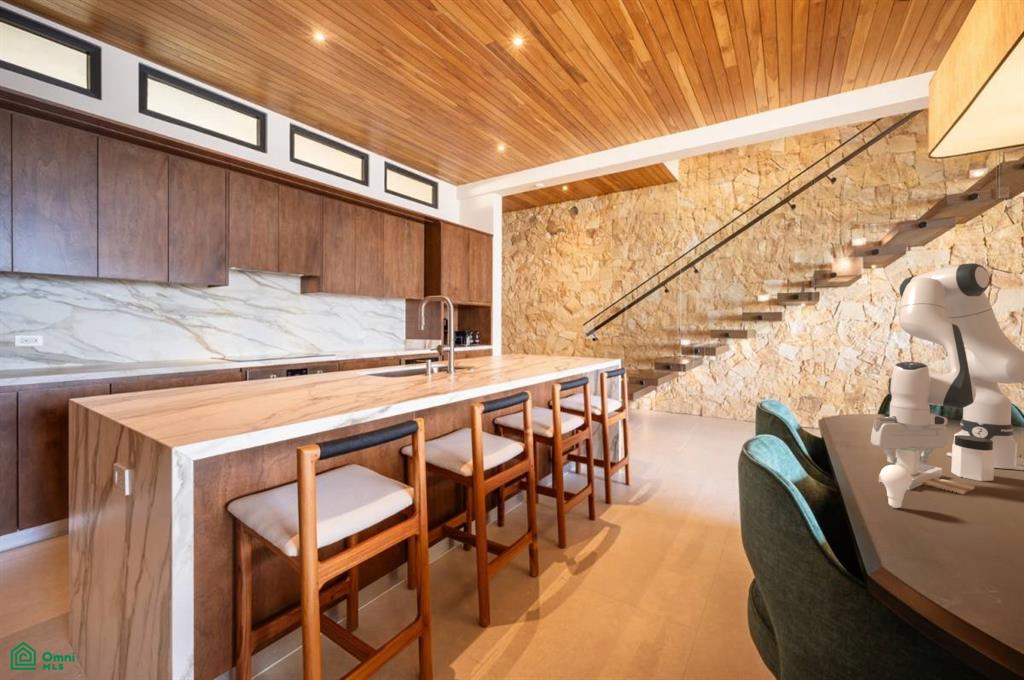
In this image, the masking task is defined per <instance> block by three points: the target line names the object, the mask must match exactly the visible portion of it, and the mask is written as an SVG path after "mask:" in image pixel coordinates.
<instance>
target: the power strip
mask: <svg viewBox="0 0 1024 680" xmlns="http://www.w3.org/2000/svg"><path fill="white" fill-rule="evenodd" d="M911 476H912V484H911V485H910V487H909V488H908V489H907V490H906V491H910V490H913V489H915V488H917V487H920V486H922V485H923V482H925V481H927V480H930V479H932V478H935V477H936V478H942V477H943V468H942V467H937V466H933V465H928V464H925V463H920V465H919V473H918V474H915V475H911ZM880 482H882V480H881V477H880V473H878V483H880ZM881 484H884V483H883V482H882V483H881Z"/></svg>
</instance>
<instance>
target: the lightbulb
mask: <svg viewBox="0 0 1024 680" xmlns="http://www.w3.org/2000/svg"><path fill="white" fill-rule="evenodd" d="M879 474H880V477H881V480H882V482H883V483H882V484H883V485H884V487H885V489H886V496H887V500H888V501H887V502H888V505H889V506H890V507H892V509H893V508H894V509H898V508H902V505H903V500H904V497H905V493H906V491H908V490H907V489H908V488H909V487H910V485H911V484H912V476H911V474H910V472H909V471H908V470H907V469H905V468H903V467H902V466H898V465H895V464H889V465H886V466H884V467H883V468H882V469H881V471H880V473H879Z"/></svg>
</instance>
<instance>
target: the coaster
mask: <svg viewBox="0 0 1024 680" xmlns="http://www.w3.org/2000/svg"><path fill="white" fill-rule="evenodd" d="M922 485H925V486H928V487H931V486H932V487H933V488H936V489H940V488H941V490H944V489H945V490H944V491H948V490H949V491H948V492H952V491H953V493H956V492H957V494H959V495H960V494H961V495H965V494H968V493H969V492H971V491H973V490H975V489H976V486H973V485H969V484H965V483H961V482H956V481H952V480H949V479H943V478H941V477H939V478H936V477H935V478H932V479H930V480H927V481H925V482H923V484H922Z"/></svg>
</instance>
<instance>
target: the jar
mask: <svg viewBox="0 0 1024 680" xmlns="http://www.w3.org/2000/svg"><path fill="white" fill-rule="evenodd" d="M953 443H954V444H953ZM953 443H952V448H951V452H952V457H951V467H950V468H951V470H950V472H951V473H952V474H953V475H955V476H957V477H959V478H961V477H963V479H966V478H967V480H972V481H978V482H991V481H992V482H993V481H994V478H995V477H994V476H995V468H994V458H995V450H993V441H992V440H989V439H986V438H981V437H974V436H965V435H957V436H955V441H954V440H953Z"/></svg>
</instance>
